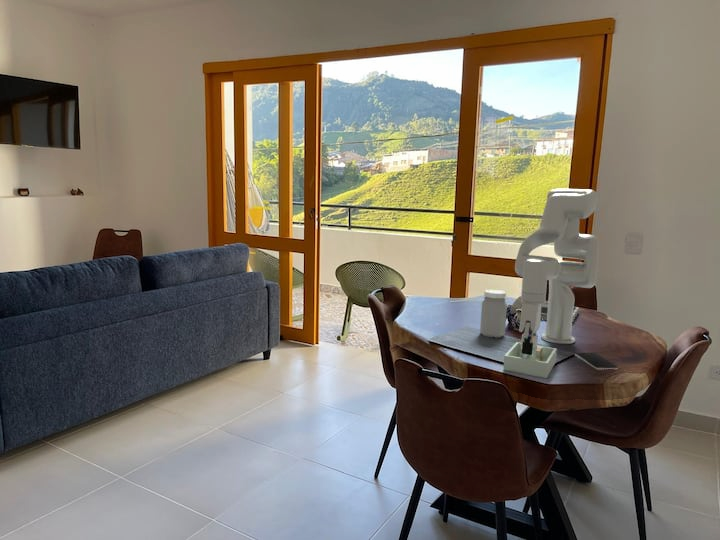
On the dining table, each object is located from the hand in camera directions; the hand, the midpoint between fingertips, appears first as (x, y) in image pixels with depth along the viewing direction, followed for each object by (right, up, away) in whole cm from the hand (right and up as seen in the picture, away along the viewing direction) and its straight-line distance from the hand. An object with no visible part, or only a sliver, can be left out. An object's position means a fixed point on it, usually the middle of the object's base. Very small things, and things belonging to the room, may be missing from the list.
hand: (528, 351), depth 171 cm
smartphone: (+27, -6, +11) cm, 30 cm away
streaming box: (+37, +5, +77) cm, 85 cm away
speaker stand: (+34, +5, +76) cm, 83 cm away
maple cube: (+4, -5, +8) cm, 11 cm away
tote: (+2, -6, +5) cm, 8 cm away
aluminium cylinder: (0, -2, 0) cm, 2 cm away
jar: (-2, 0, +41) cm, 41 cm away
